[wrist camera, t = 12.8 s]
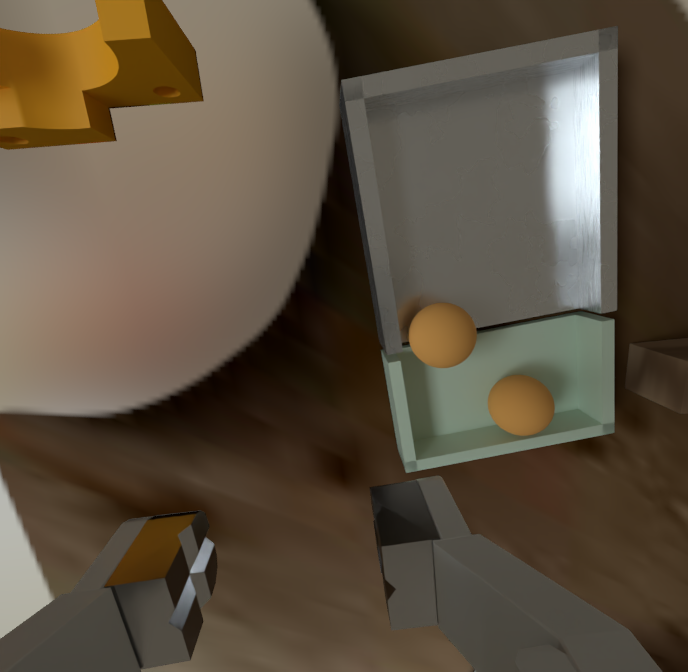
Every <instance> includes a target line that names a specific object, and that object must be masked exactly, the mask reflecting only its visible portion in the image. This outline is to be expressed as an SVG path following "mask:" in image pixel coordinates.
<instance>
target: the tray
mask: <svg viewBox="0 0 688 672" xmlns="http://www.w3.org/2000/svg"><path fill="white" fill-rule="evenodd" d="M402 349H403V352H401V353H395V354H390V355H387V354H386V352H385V351H384V349H383V350H381V353H382V359H383V364H384V370H385V376H386V382H387V388H388V394H389V400H390V406H391V412H392V417H393V423H394V429H395V435H396V441H397V447H398V451H399V454H400V456H401V459H402V462H403V465H404V468H405V471H406V473H409V472H414V471H419V470H424V469H429V468H434V467H440V466H445V465H450V464H455V463H460V462H466V461H471V460H476V459H481V458H486V457H491V456H497V455H502V454H507V453H512V452H517V451H522V450H528V449H533V448H538V447H543V446H548V445H554V444H559V443H564V442H569V441H574V440H579V439H585V438H590V437H595V436H600V435H605V434H610V433H614V319H611V318H607V317H603V316H599V315H595V314H591V313H587V312H583V311H579V312H574V313H569V314H564V315H558V316H553V317H548V318H543V319H538V320H533V321H528V322H522V323H517V324H512V325H507V326H502V327H497V328H491V329H486V330H481V331H477V339H476V344H475V347H474V349H473V351H472V353H471V354H470V356H469V357H468V358H467V359H466V360H465V361H463V362H462V363H460V364H458V365H456V366H453V367H449V368H436V367H432V366H429V365H427V364H425V363H424V362H422V361H421V360H420V359H419V358H418V357H417V356H416V355H415V354H414V352H413V351H412V348H411V346H410V344H409V345H404V346H402ZM511 375H526V376H530V377H532V378H535V379H537V380H538V381H540V382H541V383H542V384H544V385H545V386H546V387H547V389H548V390H549V391H550V393H551V395H552V397H553V400H554V405H555V411H554V416H553V419H552V421H551V422H550V424H549V425H548V426H547V427H546V428H545V429H544V430H542V431H541V432H539V433H536V434H534V435H528V436H520V435H514V434H511V433H509V432H507V431H505V430H503V429H502V428H500V427H499V426H498V425H497V424H496V423H495V422H494V420H493V419H492V417H491V415H490V413H489V410H488V396H489V393H490V390H491V389H492V387H493V386H494V385H495V384H496V383H497V382H498V381H499V380H501V379H503V378H505V377H507V376H511Z"/></svg>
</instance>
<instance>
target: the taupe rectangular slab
mask: <svg viewBox="0 0 688 672" xmlns="http://www.w3.org/2000/svg"><path fill="white" fill-rule="evenodd" d="M625 389H628V390H630V391H632V392H634V393H636V394H638V395H640V396H643V397H645V398H647V399H649V400H651V401H653V402H656V403H658V404H660V405H662V406H664V407H666V408H669V409H671V410H673V411H675V412H677V413H679V414H686V413H688V338H681V339H671V340H660V341H650V342H640V343H630V345H629V354H628V362H627V371H626V380H625Z"/></svg>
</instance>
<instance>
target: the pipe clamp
mask: <svg viewBox="0 0 688 672" xmlns="http://www.w3.org/2000/svg"><path fill="white" fill-rule="evenodd" d="M95 2H96V7H97V12H98V16H99V20H98V21H97V22H95V23H94V24H92V25H91V26H89V27H87V28H85V29H82V30H79V31H75V32H70V33H61V34H34V33H25V32H18V31H12V30H6V29H1V28H0V148H4V149H7V150H11V149H24V148H38V147H50V146H63V145H75V144H87V143H101V142H112V141H117V140H116V135H115V130H114V126H113V121H112V117H111V112H110V108H124V107H137V106H150V105H162V104H176V103H189V102H202V101H204V100H203V93H202V87H201V81H200V75H199V68H198V63H197V56H196V51H195V49H194V48H193V46H192V45H191V43H190V42H189V40H188V38H187V37H186V35H185V34H184V32H183V31H182V29H181V28H180V27H179V25H178V24H177V22H176V20H175V19H174V18H173V16H172V14H171V13H170V11H169V10H168V8H167V7H166V5H165V4H164V2H163V1H162V0H95Z"/></svg>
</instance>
